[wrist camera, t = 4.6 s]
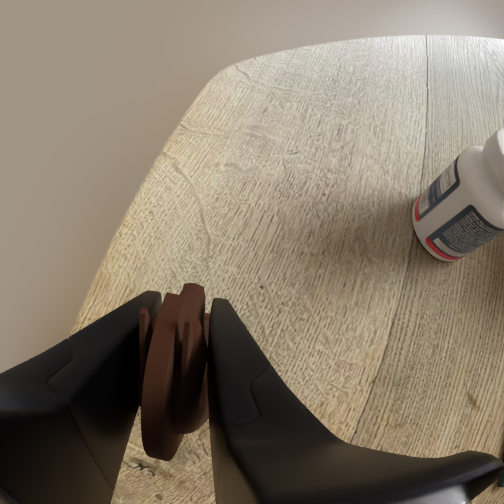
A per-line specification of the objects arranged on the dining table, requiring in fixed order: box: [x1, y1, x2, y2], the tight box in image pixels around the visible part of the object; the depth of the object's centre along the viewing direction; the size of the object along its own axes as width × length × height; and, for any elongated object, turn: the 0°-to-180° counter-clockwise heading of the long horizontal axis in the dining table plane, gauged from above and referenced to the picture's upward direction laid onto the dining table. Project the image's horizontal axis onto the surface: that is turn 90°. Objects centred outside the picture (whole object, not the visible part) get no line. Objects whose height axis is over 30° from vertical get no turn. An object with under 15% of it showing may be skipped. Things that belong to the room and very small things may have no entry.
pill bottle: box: [412, 129, 504, 261], centre depth 16 cm, size 5×5×9 cm
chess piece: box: [138, 283, 210, 461], centre depth 10 cm, size 5×5×10 cm
